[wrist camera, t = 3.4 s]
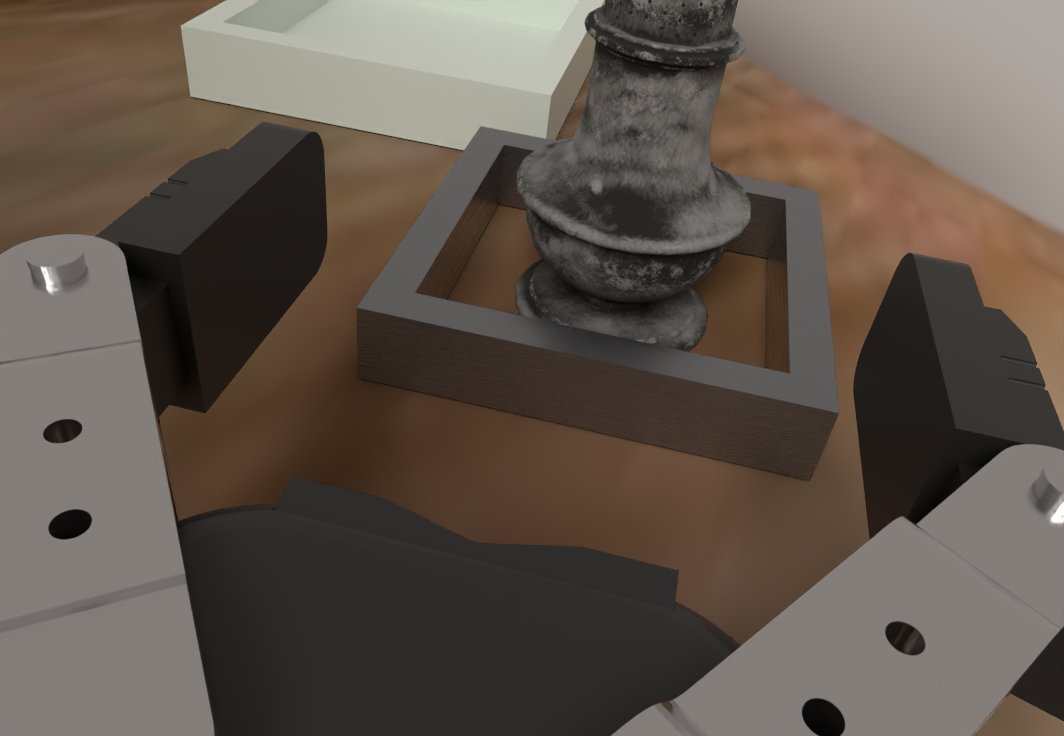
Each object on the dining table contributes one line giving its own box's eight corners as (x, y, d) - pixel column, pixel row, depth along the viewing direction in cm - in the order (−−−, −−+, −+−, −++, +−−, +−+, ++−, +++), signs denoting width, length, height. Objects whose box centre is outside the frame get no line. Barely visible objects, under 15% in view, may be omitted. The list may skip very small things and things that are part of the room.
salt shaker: (647, 237, 27) (748, -227, 20) (760, 348, 23) (940, -181, 16) (471, 264, 25) (509, -250, 17) (562, 392, 21) (663, -202, 13)
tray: (190, 96, 32) (180, 25, 30) (331, -1, 42) (329, -58, 40) (542, 165, 30) (551, 95, 29) (600, 48, 40) (609, -9, 39)
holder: (358, 377, 20) (356, 307, 19) (476, 184, 29) (480, 126, 27) (809, 480, 19) (838, 412, 18) (799, 248, 28) (818, 191, 26)
